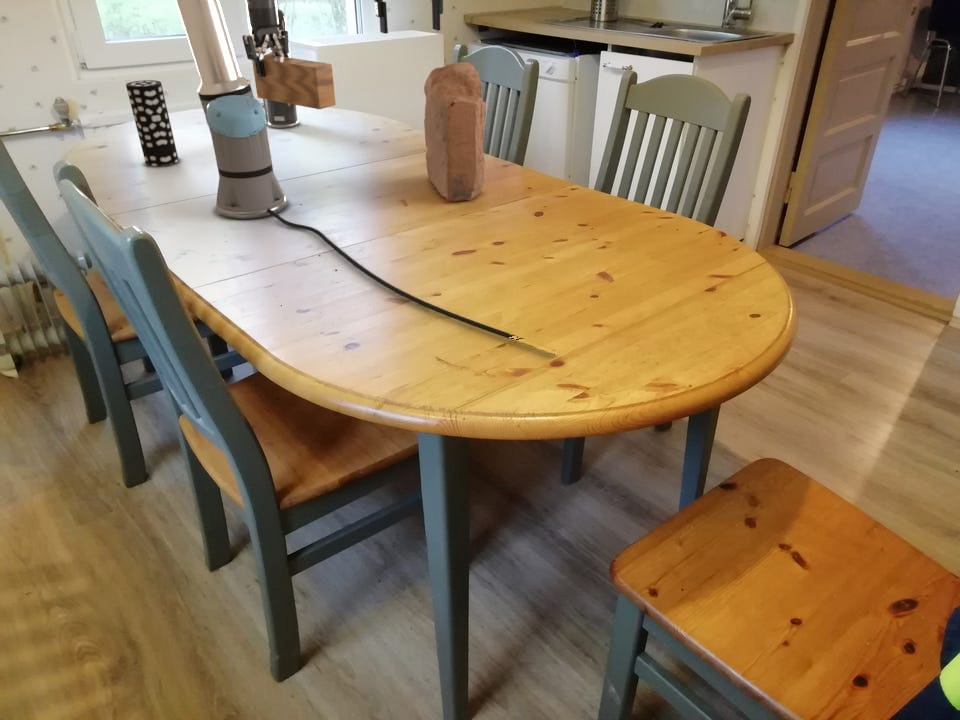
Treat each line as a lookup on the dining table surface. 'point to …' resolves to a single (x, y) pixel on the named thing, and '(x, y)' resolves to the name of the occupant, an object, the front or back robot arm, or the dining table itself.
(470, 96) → the stone
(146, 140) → the black white spotted cylinder
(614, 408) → the dining table surface
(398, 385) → the dining table surface
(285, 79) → the box
